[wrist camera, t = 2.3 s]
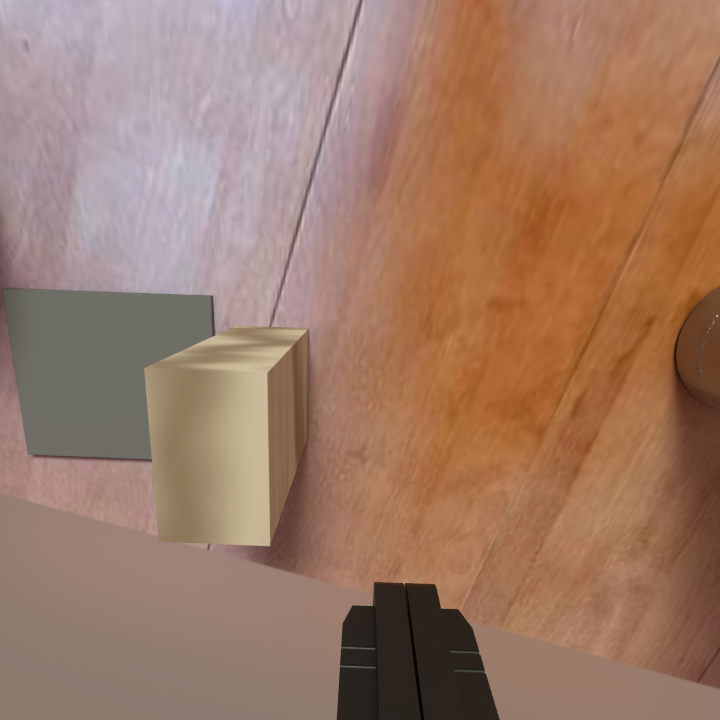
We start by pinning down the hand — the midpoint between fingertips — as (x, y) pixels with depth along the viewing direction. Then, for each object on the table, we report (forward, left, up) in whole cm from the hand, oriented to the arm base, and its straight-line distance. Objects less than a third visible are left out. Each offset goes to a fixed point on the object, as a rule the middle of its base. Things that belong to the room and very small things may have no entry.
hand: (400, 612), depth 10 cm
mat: (+18, 0, -20) cm, 27 cm away
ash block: (+7, 0, -20) cm, 21 cm away
